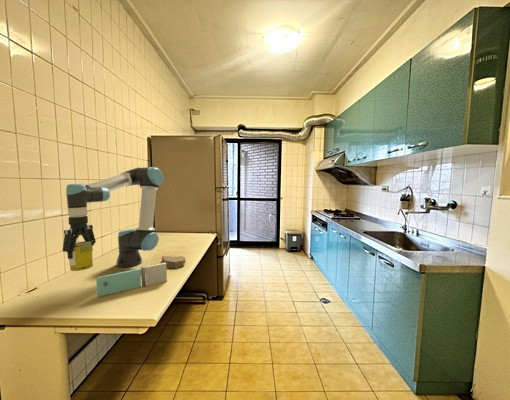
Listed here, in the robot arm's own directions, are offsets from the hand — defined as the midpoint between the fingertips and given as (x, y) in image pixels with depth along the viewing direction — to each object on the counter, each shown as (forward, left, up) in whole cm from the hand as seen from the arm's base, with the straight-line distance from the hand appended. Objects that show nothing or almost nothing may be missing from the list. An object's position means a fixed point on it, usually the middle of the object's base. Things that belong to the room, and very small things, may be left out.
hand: (81, 261), depth 119 cm
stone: (-14, +49, -16) cm, 54 cm away
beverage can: (0, 0, -3) cm, 3 cm away
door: (+11, +15, -15) cm, 24 cm away
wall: (+9, +27, -16) cm, 33 cm away
